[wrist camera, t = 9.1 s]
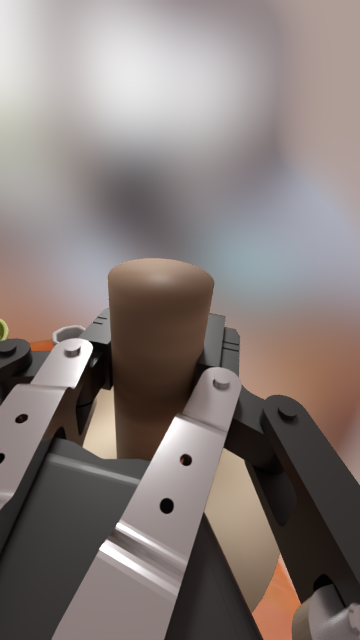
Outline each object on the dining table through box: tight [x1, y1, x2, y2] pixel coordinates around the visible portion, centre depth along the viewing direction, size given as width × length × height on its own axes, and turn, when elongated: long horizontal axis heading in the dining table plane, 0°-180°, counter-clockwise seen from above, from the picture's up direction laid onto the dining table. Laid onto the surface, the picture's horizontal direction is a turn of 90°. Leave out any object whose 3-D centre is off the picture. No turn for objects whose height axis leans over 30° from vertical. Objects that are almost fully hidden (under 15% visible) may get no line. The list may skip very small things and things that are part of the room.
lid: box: [83, 258, 280, 614], centre depth 11 cm, size 13×13×11 cm
